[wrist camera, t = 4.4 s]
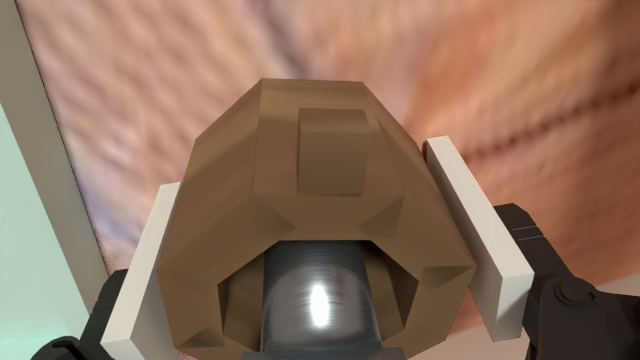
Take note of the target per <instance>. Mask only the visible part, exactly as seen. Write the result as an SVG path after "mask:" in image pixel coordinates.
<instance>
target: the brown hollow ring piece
mask: <svg viewBox="0 0 640 360" xmlns="http://www.w3.org/2000/svg"><path fill="white" fill-rule="evenodd" d="M279 240H360V243H361V247H362V252H363V257H364V261H365V266H366V271H367V275H368V280H369V285H370V289H371V294H372V299H373V303H374V308H375V313H376V317H377V322H378V327H379V331H380V336H381V341H382V345H383V348H389V347H403V350H404V354H405V358H406V360H407V359H409V358H411V357H413V356H415V355H416V354H419V353H421V352H422V351H425V350H427V349H429V348H431V347H433V346H435V345H437V344H439V343H441V342H443V341H445V340H446V338H447V335H448V333H449V330H450V328H451V326H452V323H453V321H454V319H455V316H456V314H457V312H458V309H459V307H460V305H461V302H462V300H463V297H464V295H465V293H466V290H467V288H468V286H469V283H470V281H471V279H472V276H473V274H474V271H475V269H476V267H477V265H476V263H475V261H474V259H473V257H472V255H471V253H470V251H469V249H468V247H467V245H466V243H465V241H464V239H463V237H462V235H461V233H460V231H459V229H458V227H457V225H456V223H455V221H454V219H453V217H452V215H451V213H450V211H449V209H448V206H447V204H446V202H445V200H444V198H443V196H442V194H441V192H440V190H439V188H438V186H437V184H436V182H435V180H434V178H433V176H432V174H431V172H430V170H429V168H428V166H427V164H426V162H425V160H424V158H423V156H422V154H421V152H420V150H419V148H418V146H417V144H416V142H415V141H414V140H413V139H412V138H411V137H410V136H409V135H408V133H407V132H406V131H405V130H404V129H403V128H402V127H401V125H400V124H399V123H398V122H397V121H396V120H395V119H394V117H393V116H392V115H391V114H390V113H389V112H388V111H387V109H386V108H385V107H384V106H383V105H382V104H381V103H380V101H379V100H378V99H377V98H376V97H375V96H374V95H373V93H372V92H371V91H370V90H369V89H368V88H367V87H366V85H365V84H364V83H363V82H350V81H321V80H292V79H263V78H262V79H261V80H260V81H259V82H258V83H257V84H256V85H254V86H253V87H252V88H251V89H250V90H249V91H248V92H247V93H246V94H245V95H244V96H242V97H241V98H240V99H239V100H238V101H237V102H236V103H235V104H234V105H233V106H231V107H230V108H229V109H228V110H227V111H226V112H225V113H224V114H223V115H222V116H221V117H219V118H218V119H217V120H216V121H215V122H214V123H213V124H212V125H211V126H210V127H209V128H207V129H206V130H205V131H204V132H203V133H202V134H201V135H200V136H199V137H198V138H197V139H196V140H195V144H194V147H193V150H192V153H191V157H190V160H189V163H188V166H187V169H186V173H185V176H184V179H183V182H182V186H181V189H180V192H179V195H178V198H177V202H176V205H175V208H174V211H173V214H172V218H171V221H170V224H169V227H168V231H167V234H166V237H165V240H164V243H163V247H162V250H161V253H160V256H159V260H158V263H157V266H156V269H155V270H156V274H157V278H158V282H159V287H160V291H161V295H162V299H163V303H164V307H165V312H166V316H167V320H168V324H169V328H170V333H171V337H172V341H173V345H174V348H175V349H177V350H179V351H181V352H183V353H186V354H188V355H190V356H192V357H194V358H196V359H199V360H242V352H261V328H262V303H263V278H264V253H265V250H266V249H268V248H269V247H271V246H272V245H273V244H275V243H276V242H278V241H279Z"/></svg>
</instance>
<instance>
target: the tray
mask: <svg viewBox="0 0 640 360" xmlns="http://www.w3.org/2000/svg"><path fill="white" fill-rule="evenodd" d="M108 278H109V276H108V273H107V270H106V267H105V265H104V262H103V259H102V256H101V253H100V250H99V247H98V244H97V241H96V238H95V235H94V232H93V229H92V227H91V224H90V221H89V218H88V215H87V212H86V209H85V206H84V203H83V200H82V197H81V194H80V191H79V188H78V186H77V183H76V180H75V177H74V174H73V171H72V168H71V165H70V162H69V159H68V156H67V153H66V150H65V148H64V145H63V142H62V139H61V136H60V133H59V130H58V127H57V124H56V121H55V118H54V115H53V112H52V110H51V107H50V104H49V101H48V98H47V95H46V92H45V89H44V86H43V83H42V80H41V77H40V74H39V71H38V69H37V66H36V63H35V60H34V57H33V54H32V51H31V48H30V45H29V42H28V39H27V36H26V33H25V31H24V28H23V25H22V22H21V19H20V16H19V13H18V10H17V7H16V4H15V1H14V0H0V360H30V359H31V358H32V356H33V355H34V354H35V353H36V352H37V351H38V350H39V349H40V348H41V347H42V346H44V345H45V344H47V343H48V342H50V341H51V340H54V339H56V338H59V337H62V336H73V337H76V338H78V339H79V340H80V337H81V335H82V333H83V330H84V328H85V326H86V324H87V321H88V319H89V317H90V314H91V313H93V307H94V305H95V303H96V301H98V299H97V298H98V296H99V293H100V291H101V289H102V287H103V284H104V283H105V282H106V281H107V280H108Z"/></svg>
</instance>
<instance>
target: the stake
mask: <svg viewBox="0 0 640 360" xmlns="http://www.w3.org/2000/svg"><path fill="white" fill-rule="evenodd" d="M242 360H406V358H405V354H404V350H403V347H389V348H383V345H382V341H381V336H380V331H379V327H378V322H377V317H376V313H375V308H374V303H373V299H372V294H371V289H370V285H369V280H368V275H367V271H366V266H365V261H364V257H363V252H362V247H361V243H360V240H279V241H278V242H276V243H275V244H273V245H272V246H271V247H269V248H268V249H266V250H265V253H264V278H263V303H262V328H261V352H242Z"/></svg>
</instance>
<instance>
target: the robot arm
mask: <svg viewBox="0 0 640 360" xmlns="http://www.w3.org/2000/svg"><path fill="white" fill-rule="evenodd" d="M427 166H428V168H429V170H430V172H431V174H432V176H433V178H434V180H435V182H436V184H437V186H438V188H439V190H440V192H441V194H442V196H443V198H444V200H445V202H446V204H447V206H448V209H449V211H450V213H451V215H452V217H453V219H454V221H455V223H456V225H457V227H458V229H459V231H460V233H461V235H462V237H463V239H464V241H465V243H466V245H467V247H468V249H469V251H470V253H471V255H472V257H473V259H474V261H475V263H476V265H477V267H476V269H475V271H474V274H473V276H472V279H471V281H470V283H469V286H468V288H469V290H470V292H471V294H472V297H473V299H474V301H475V303H476V306H477V308H478V310H479V312H480V314H481V317H482V319H483V321H484V323H485V326H486V328H487V330H488V332H489V334H490V337H491V339H492V341H493V342H495V341H501V340H508V339H514V338H520V336H521V331H522V327H524V329H525V331H526V333H527V334H528V336H529V338H530V343H529V347H528V350H527V354H526V358H525V360H640V297H639V296H631V295H621V294H611V293H606V292H601V291H598V290H597V289H596V288H595V287H594V286H593V285H591V284H590V283H588V282H586V281H585V280H583V279H580V278H577V277H575V276H574V275H573V274H572V273H571V272H570V271H569V269H568V268H567V266H566V265H565V264H564V262H563V261H562V260H561V258H560V257H559V255H558V254H557V253H556V251H555V250H554V249H553V247H552V246H551V244H550V243H549V242H548V240H547V239H546V237H544V236H543V233H542V232H541V231H540V229H539V228H538V227H536V224H535V222H534V221H533V220H532V218H531V217H530V215H529V214H528V213H527V212H526V211H524V210H523V209H521V208H520V207H518V206H517V205H515V204H514V203H510V204H504V205H498V206H492V205H491V203H490V202H489V200H488V199H487V197H486V196H485V194H484V192H483V191H482V189H481V188H480V186H479V185H478V183H477V181H476V180H475V178H474V177H473V175H472V174H471V172H470V170H469V169H468V167H467V166H466V164H465V162H464V161H463V159H462V158H461V156H460V155H459V153H458V151H457V150H456V148H455V147H454V145H453V144H452V142H451V140H450V139H449V137H448V136H447V135H446V136H441V137H435V138H429V139H427ZM181 186H182V183H181V182H176V183H171V184H165V185H161V186H160V189H159V192H158V194H157V197H156V199H155V202H154V205H153V207H152V210H151V212H150V215H149V218H148V220H147V223H146V225H145V228H144V231H143V233H142V236H141V238H140V241H139V244H138V246H137V249H136V251H135V254H134V257H133V259H132V262H131V264H130V267H129V269H123V270H117V271H114V273H113V274H112V275H111V276H110V277H109V278H108V280H107V281H106V282H105V283H104V284H103V287H102V289H101V291H100V293H99V296H98V298H97V299H98V301H96V303H95V305H94V307H93V313H91V314H90V317H89V319H88V321H87V324H86V326H85V328H84V330H83V333H82V335H81V337H80V340H79V339H78V338H76V337H73V336H62V337H59V338H56V339H54V340H51V341H50V342H48V343H47V344H45V345H44V346H42V347H41V348H40V349H39V350H38V351H37V352H36V353H35V354H34V355H33V356H32V358H31V359H30V360H177V358H178V354H179V350H177V349H175V348H174V345H173V341H172V337H171V333H170V328H169V324H168V320H167V316H166V312H165V307H164V303H163V299H162V295H161V291H160V287H159V282H158V278H157V274H156V270H155V269H156V266H157V263H158V260H159V256H160V253H161V250H162V247H163V243H164V240H165V237H166V234H167V231H168V227H169V224H170V221H171V218H172V214H173V211H174V208H175V205H176V202H177V198H178V195H179V192H180V189H181Z"/></svg>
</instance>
